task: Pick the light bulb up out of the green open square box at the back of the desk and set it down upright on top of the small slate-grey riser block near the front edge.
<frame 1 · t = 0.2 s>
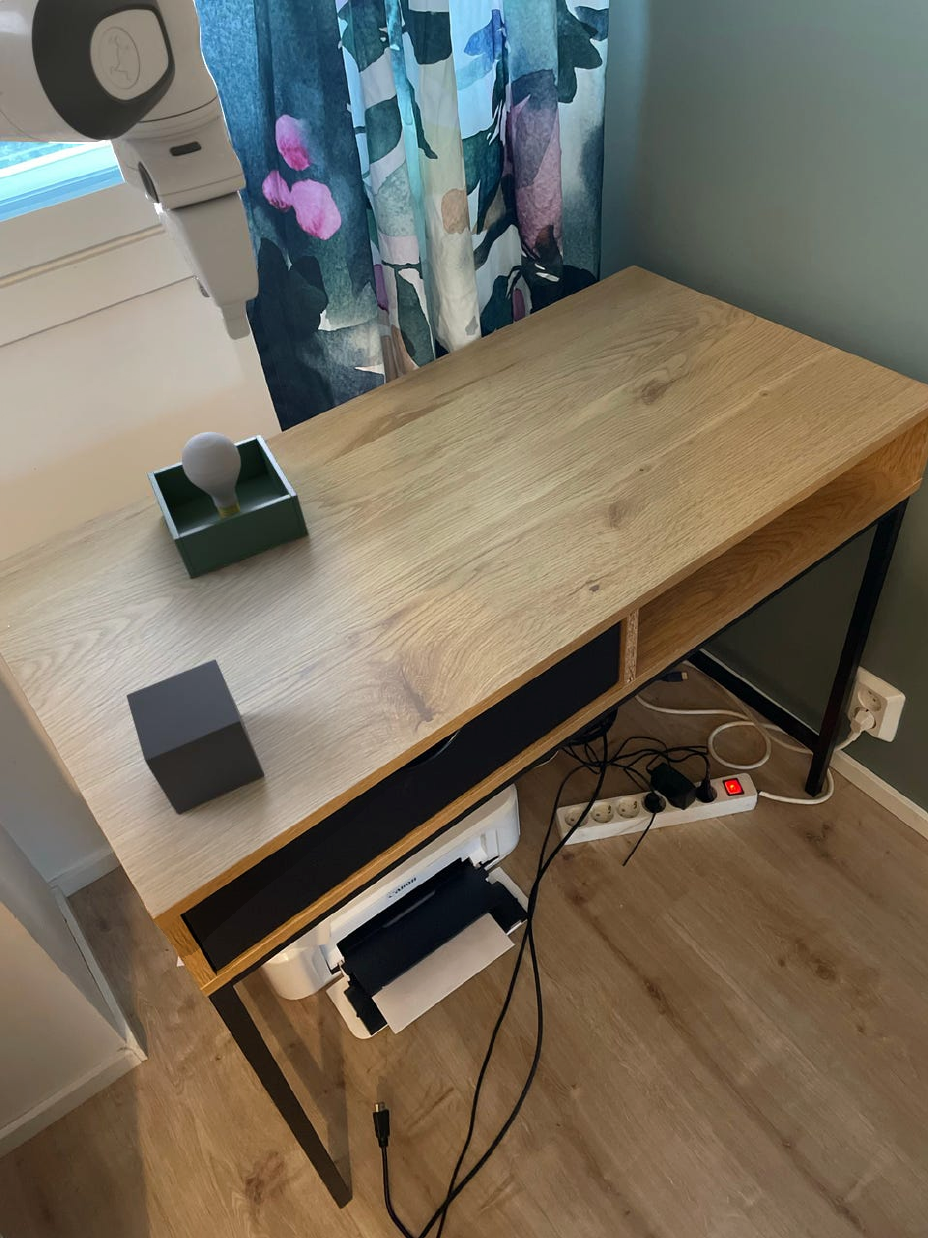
hand: (224, 312, 79), 21 cm above the table, tool pointing down, fingers open, 8 cm apart
light bulb: (233, 520, 92), resting on green open square box
green open square box: (234, 522, 92), on the table
riser: (210, 762, 71), on the table
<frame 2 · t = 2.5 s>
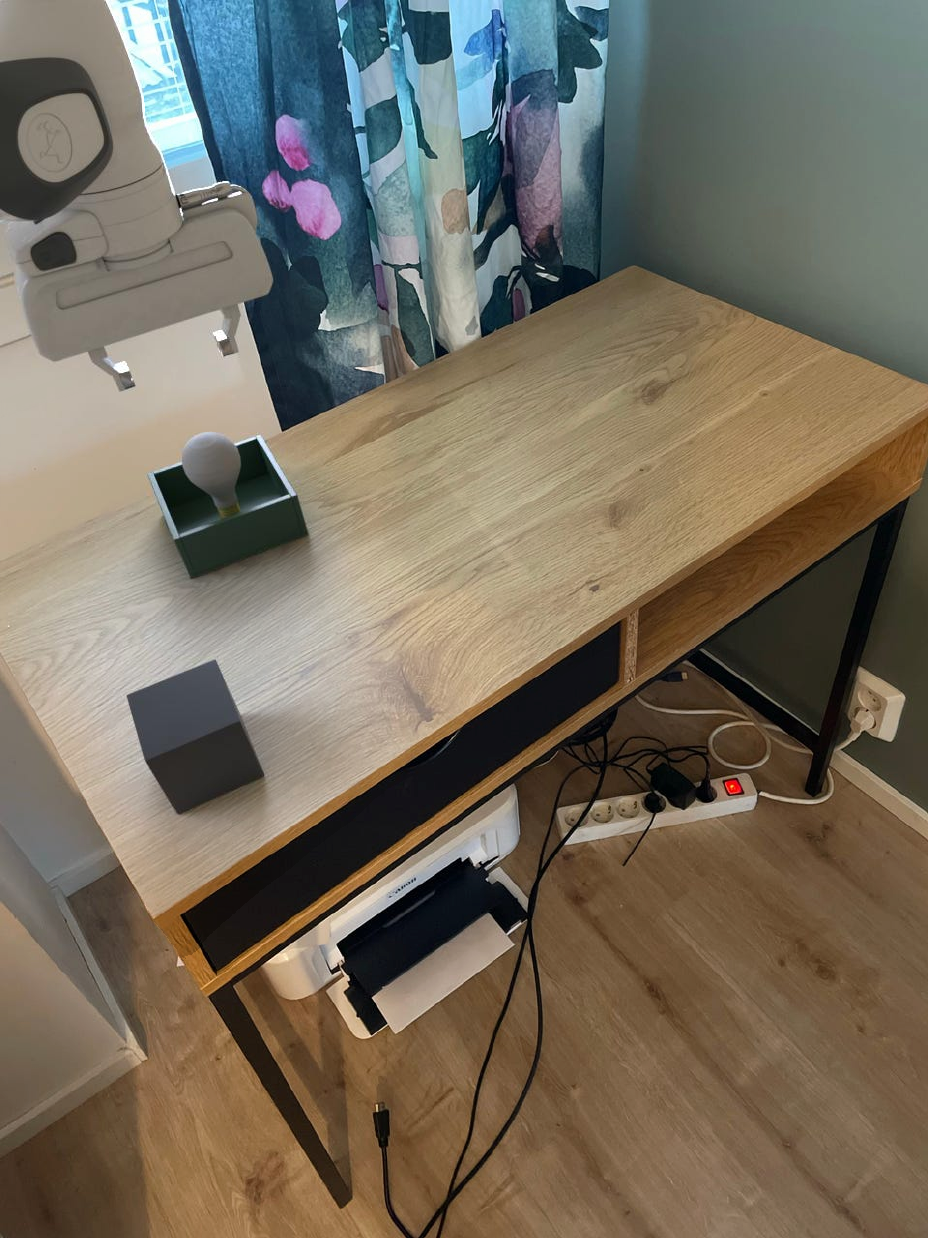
hand: (178, 369, 80), 18 cm above the table, tool pointing down, fingers open, 8 cm apart
nothing on the table moved.
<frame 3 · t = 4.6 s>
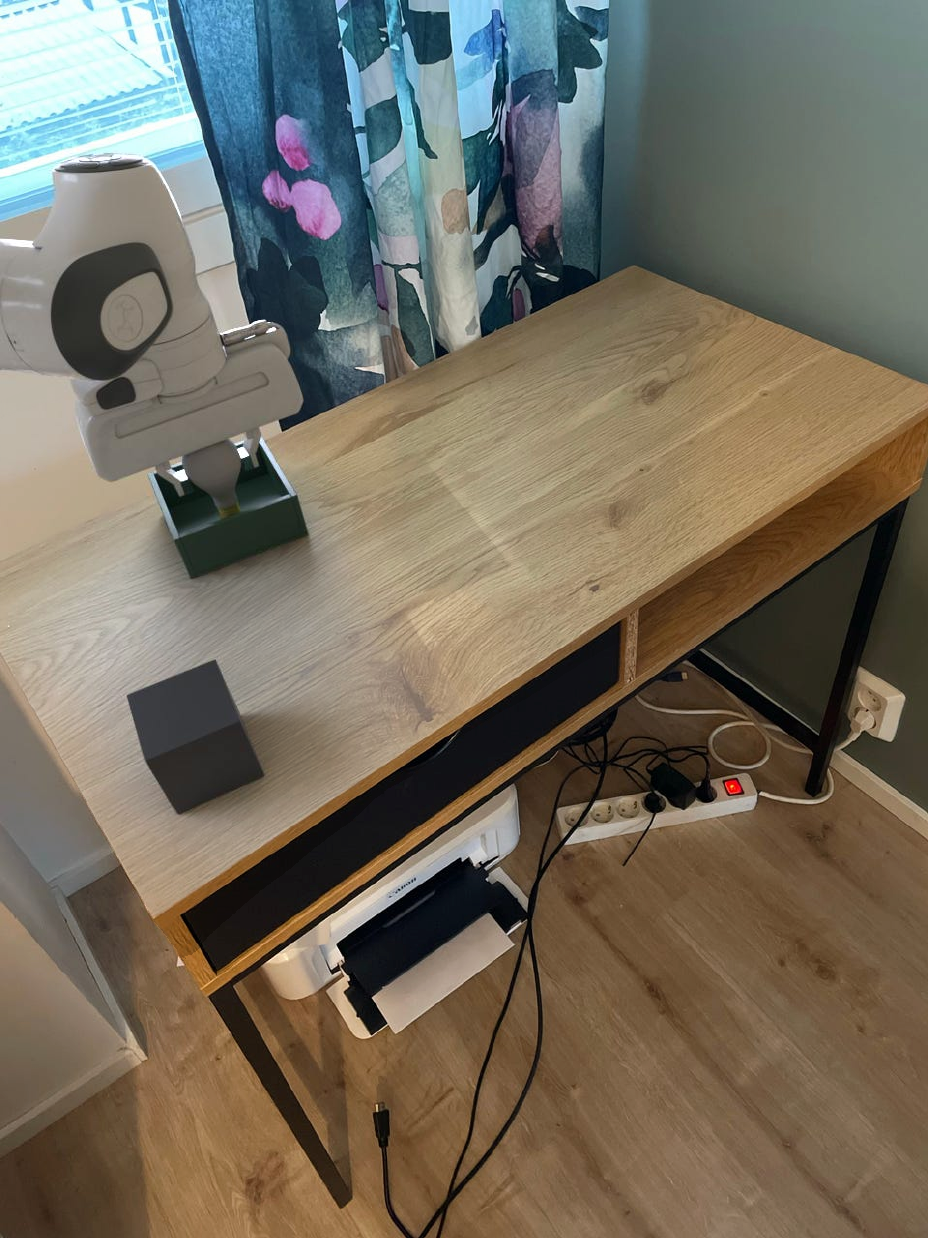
hand: (217, 478, 88), 6 cm above the table, tool pointing down, fingers closed on light bulb, 5 cm apart
light bulb: (233, 520, 92), resting on green open square box, touching gripper
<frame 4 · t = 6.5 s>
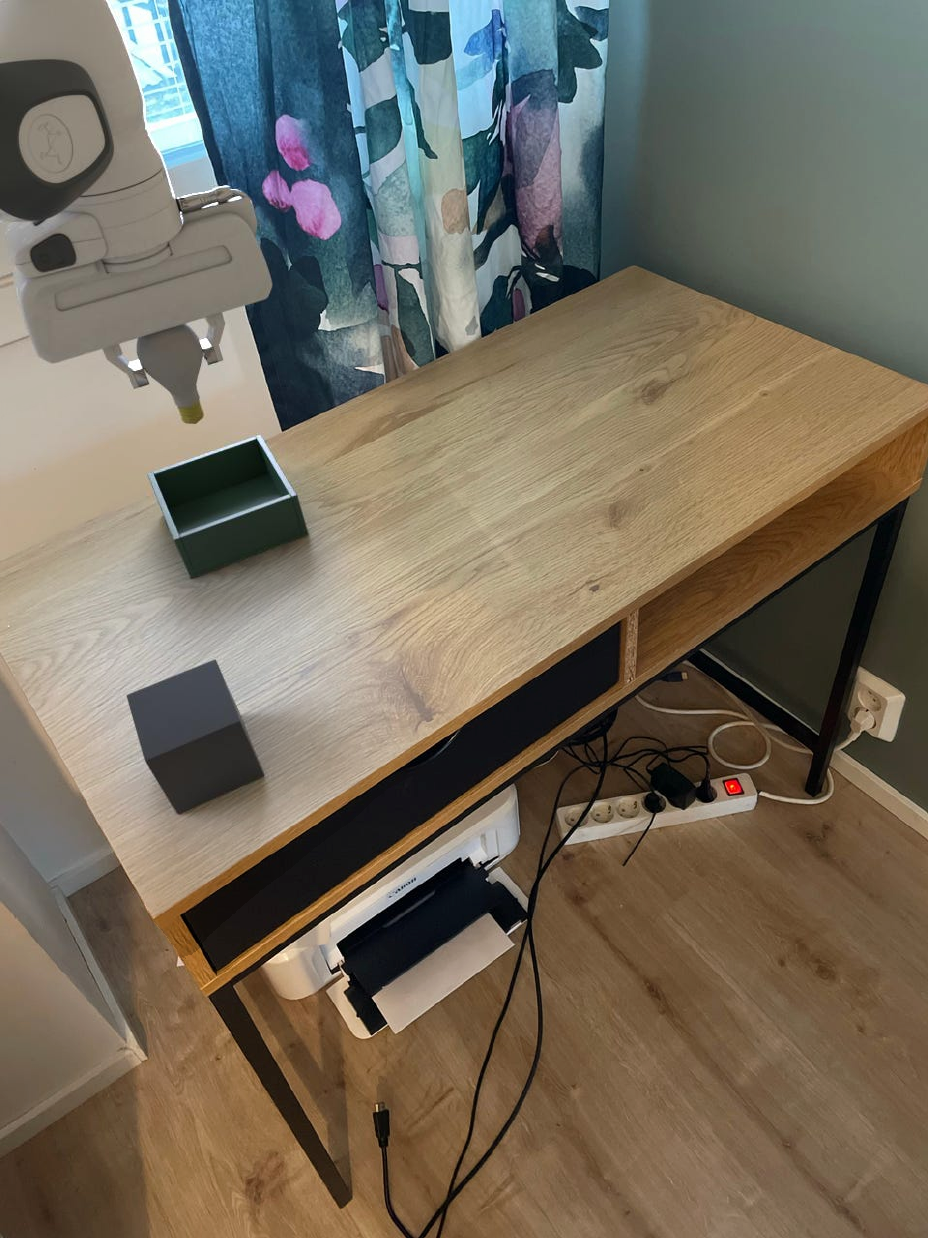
hand: (176, 372, 80), 17 cm above the table, tool pointing down, fingers closed on light bulb, 5 cm apart
light bulb: (195, 423, 83), point 12 cm above the table, touching gripper
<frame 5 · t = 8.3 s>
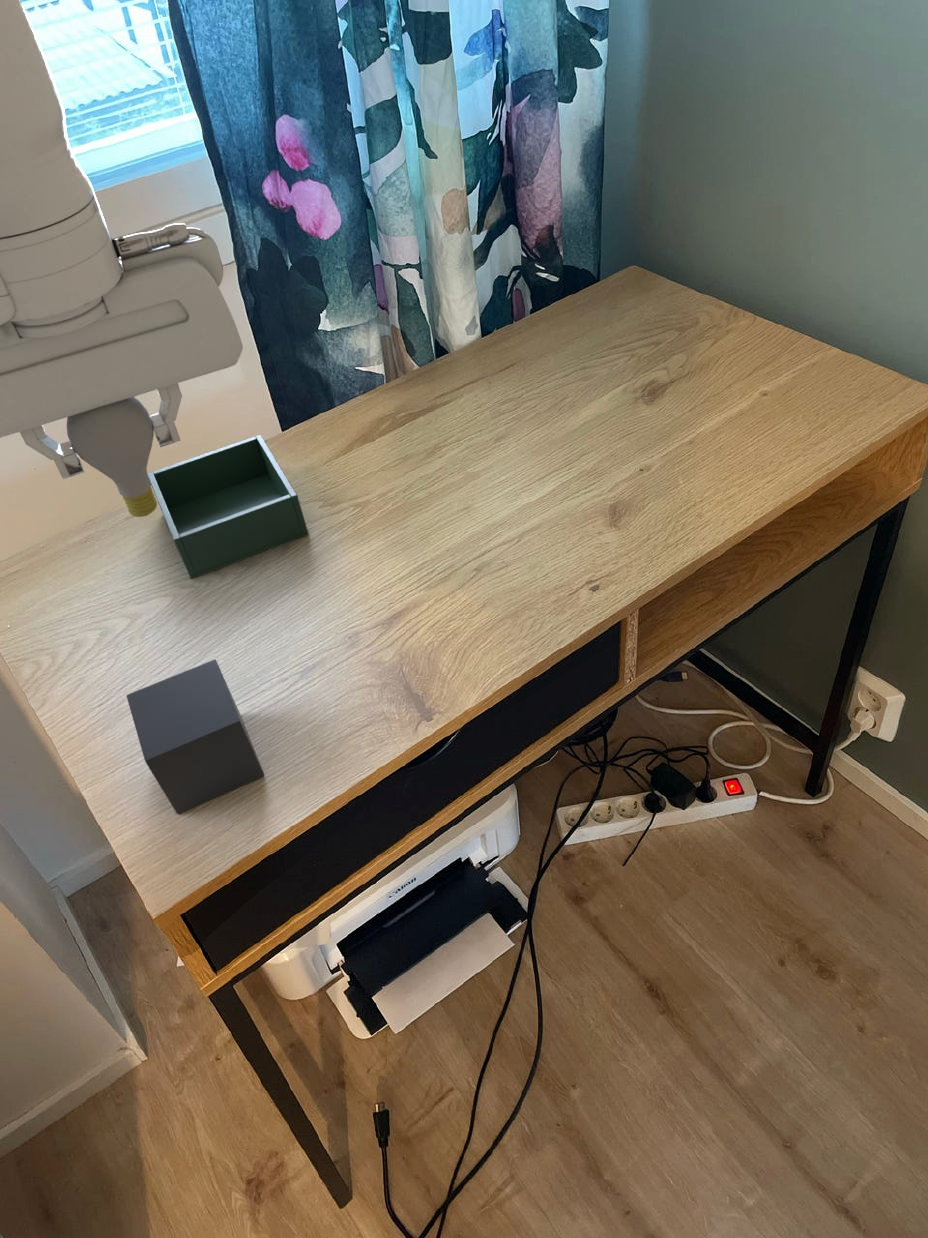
hand: (120, 456, 62), 22 cm above the table, tool pointing down, fingers closed on light bulb, 5 cm apart
light bulb: (147, 515, 66), point 17 cm above the table, touching gripper
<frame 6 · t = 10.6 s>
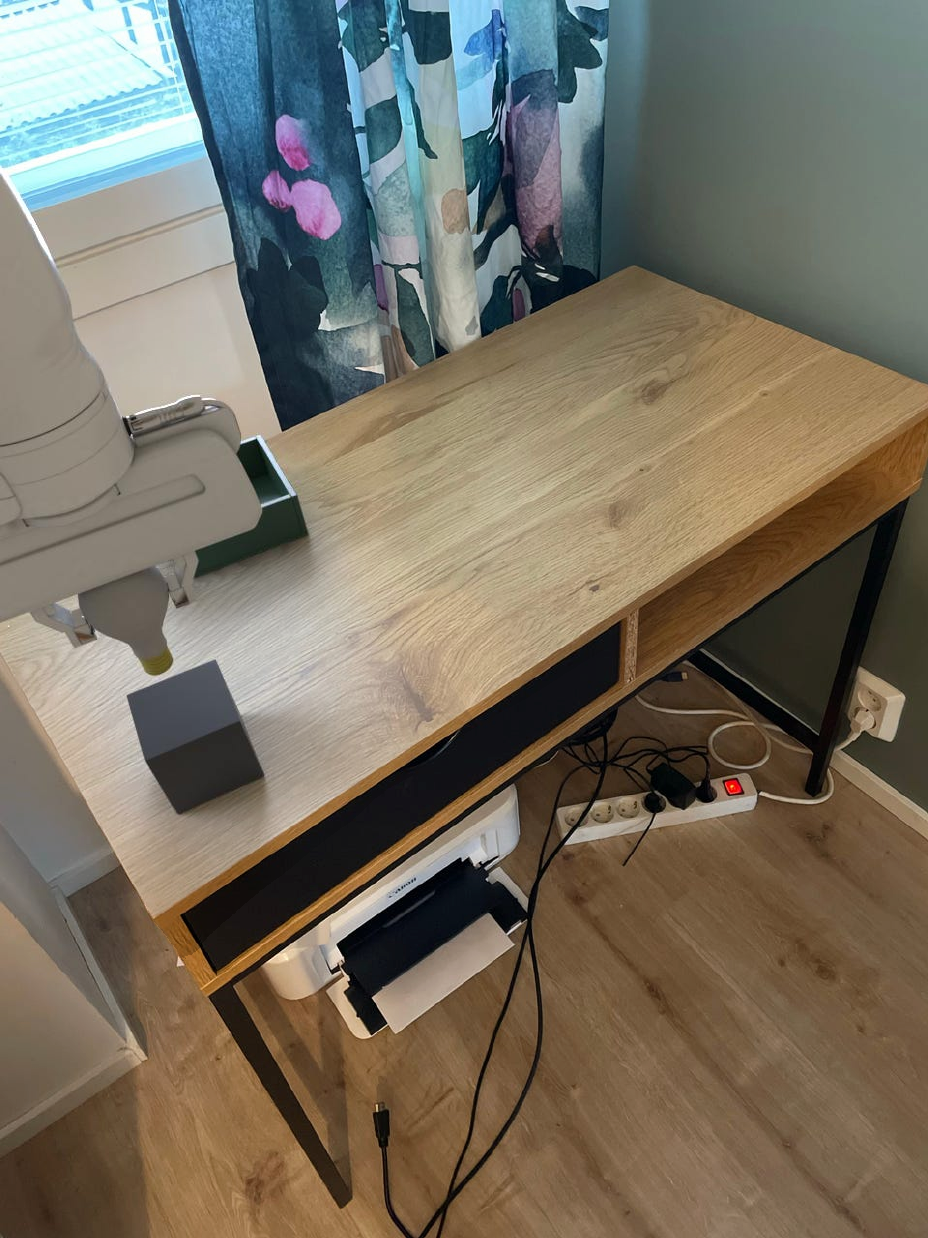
hand: (135, 619, 59), 16 cm above the table, tool pointing down, fingers closed on light bulb, 5 cm apart
light bulb: (163, 671, 63), point 11 cm above the table, touching gripper
when the fingers open (12 cm above the table, at t = 12.2 s): light bulb stays where it is, resting on riser.
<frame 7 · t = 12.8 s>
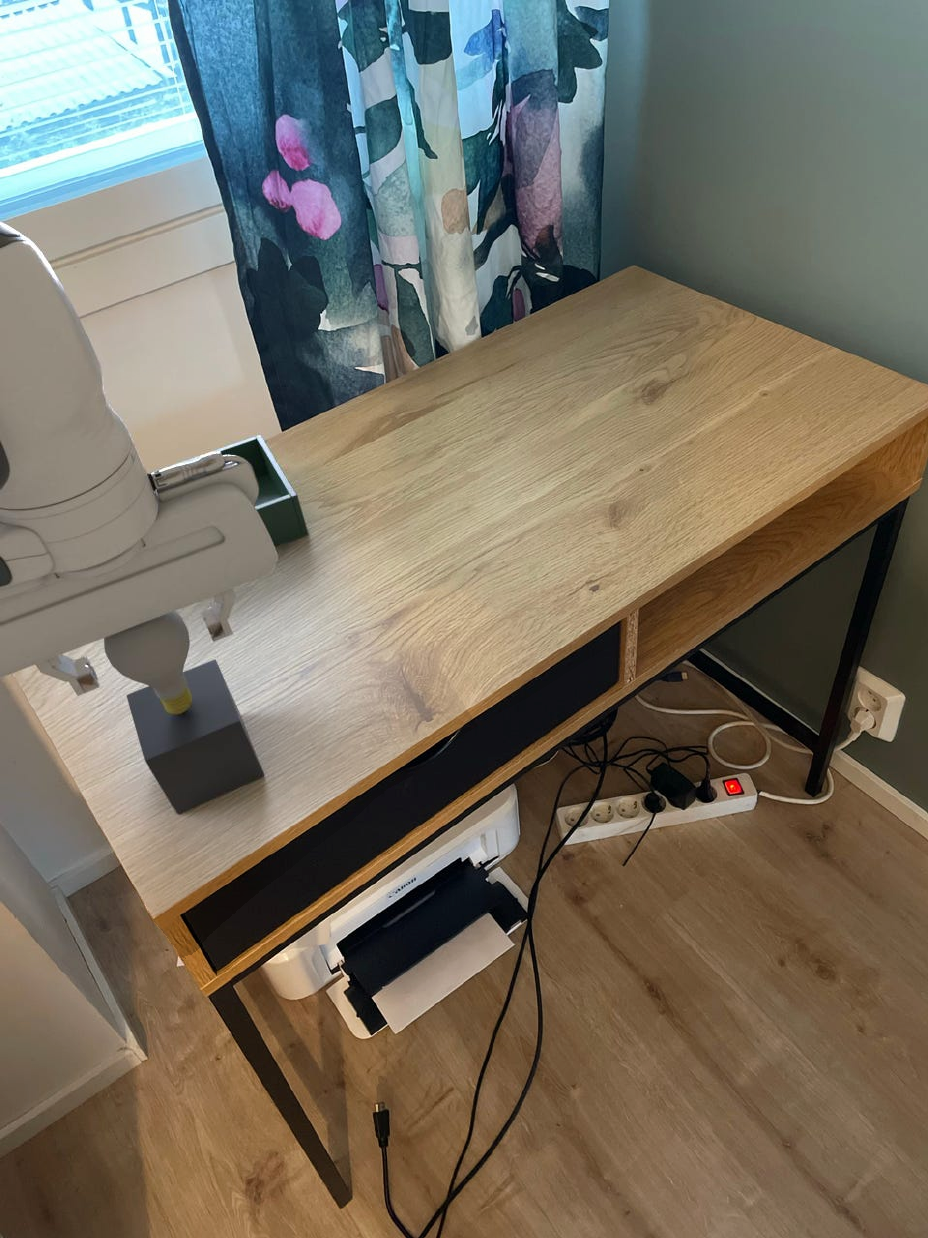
hand: (155, 658, 62), 12 cm above the table, tool pointing down, fingers open, 8 cm apart
light bulb: (182, 709, 66), point 7 cm above the table, touching riser
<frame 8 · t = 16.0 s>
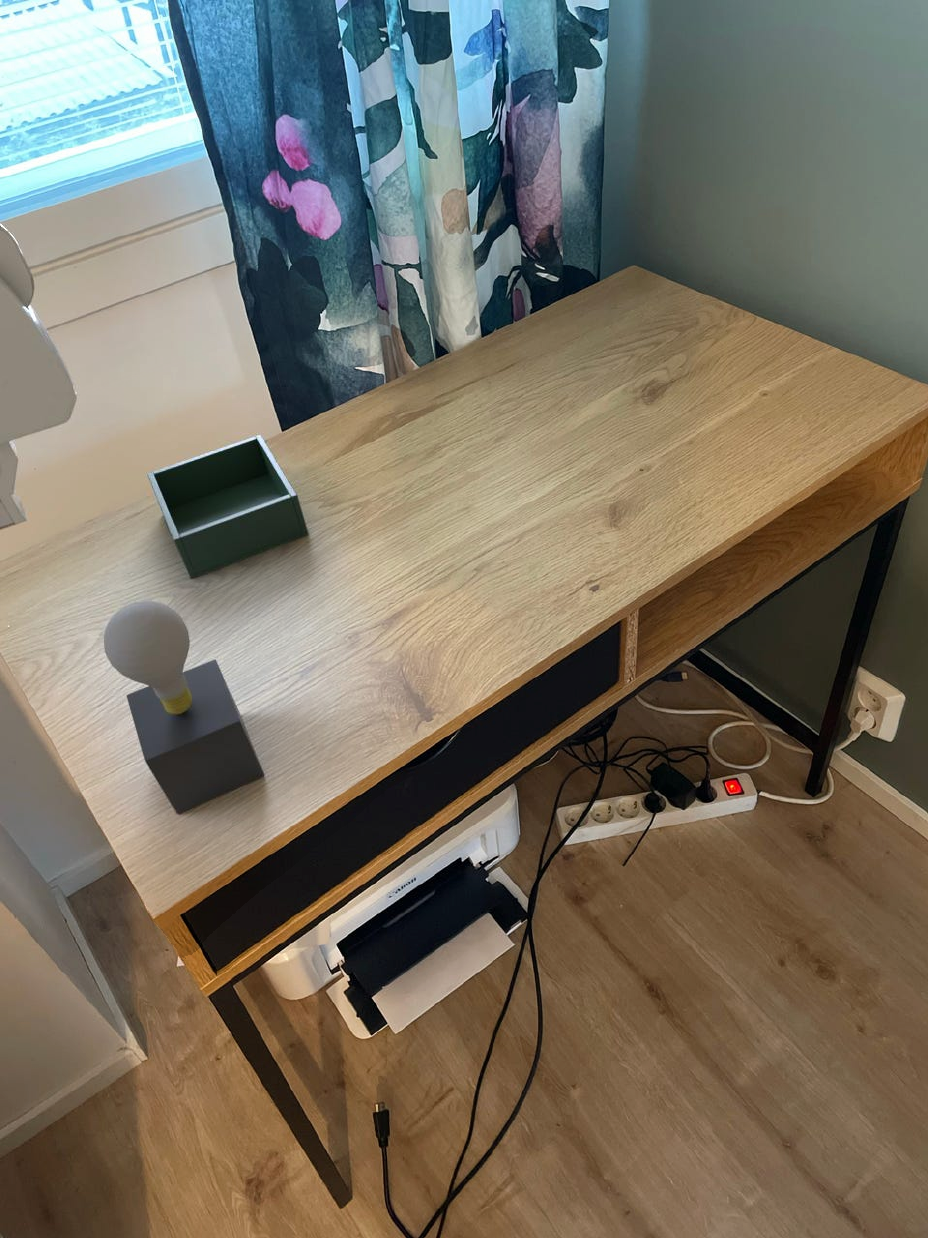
nothing on the table moved.
at the end: light bulb 0.0 cm off-centre on the riser, point 6.8 cm above the riser's base; light bulb tilted 0°; the gripper is holding nothing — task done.
